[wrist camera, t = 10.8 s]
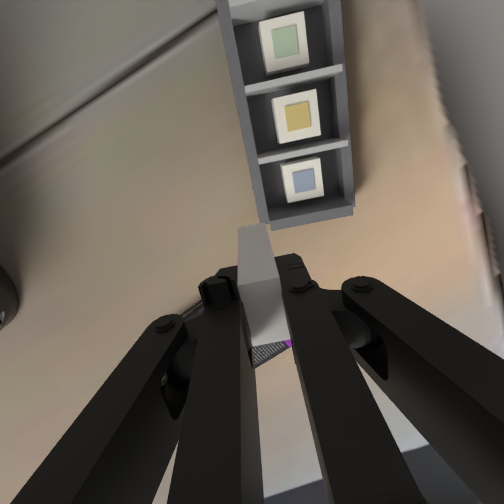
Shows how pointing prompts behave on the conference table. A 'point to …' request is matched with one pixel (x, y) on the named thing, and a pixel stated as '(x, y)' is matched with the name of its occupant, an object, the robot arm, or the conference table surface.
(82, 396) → the conference table surface
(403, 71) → the conference table surface
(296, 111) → the key
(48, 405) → the conference table surface
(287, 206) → the keypad
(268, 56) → the key
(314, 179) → the key
